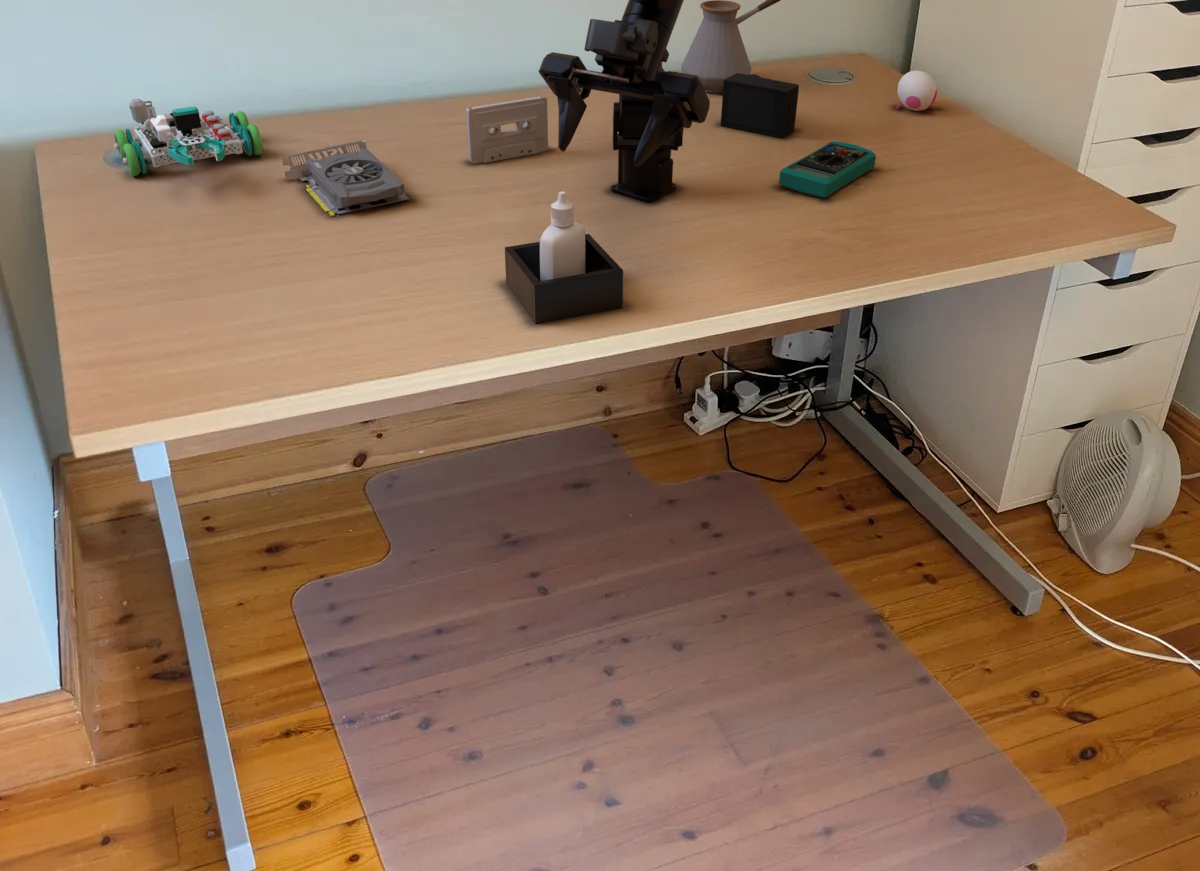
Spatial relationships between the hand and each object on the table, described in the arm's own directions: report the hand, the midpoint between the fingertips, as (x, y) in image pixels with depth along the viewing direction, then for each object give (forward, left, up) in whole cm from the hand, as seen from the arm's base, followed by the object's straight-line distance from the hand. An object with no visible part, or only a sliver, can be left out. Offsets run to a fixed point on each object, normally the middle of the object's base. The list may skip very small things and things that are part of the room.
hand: (598, 157), depth 123 cm
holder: (+1, -8, -13) cm, 15 cm away
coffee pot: (-25, +70, -13) cm, 76 cm away
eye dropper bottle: (+1, -8, -13) cm, 16 cm away
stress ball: (+4, +76, -13) cm, 78 cm away
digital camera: (-11, +53, -13) cm, 56 cm away
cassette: (-32, +20, -13) cm, 40 cm away
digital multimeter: (+7, +41, -13) cm, 44 cm away
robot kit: (-62, -10, -13) cm, 64 cm away
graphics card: (-40, -3, -13) cm, 42 cm away
